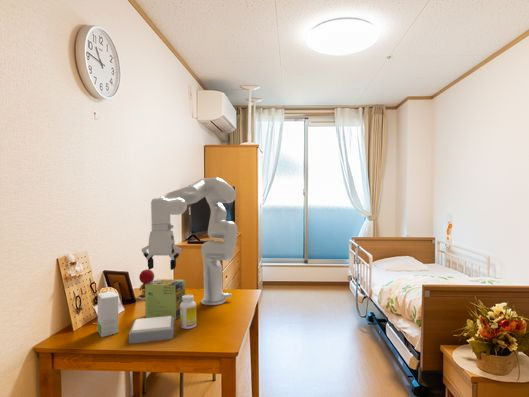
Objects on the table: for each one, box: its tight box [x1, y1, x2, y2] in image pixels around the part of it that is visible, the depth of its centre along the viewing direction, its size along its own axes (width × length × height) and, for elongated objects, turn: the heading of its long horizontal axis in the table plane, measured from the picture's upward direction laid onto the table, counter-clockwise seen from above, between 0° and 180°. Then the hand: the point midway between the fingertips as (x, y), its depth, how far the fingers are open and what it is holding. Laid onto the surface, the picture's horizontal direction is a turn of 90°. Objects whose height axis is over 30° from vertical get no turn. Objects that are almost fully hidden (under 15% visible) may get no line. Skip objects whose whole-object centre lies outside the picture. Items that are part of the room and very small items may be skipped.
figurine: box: [136, 269, 155, 301], centre depth 183 cm, size 9×10×15 cm
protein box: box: [144, 278, 186, 321], centre depth 155 cm, size 10×15×16 cm
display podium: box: [128, 316, 175, 345], centre depth 133 cm, size 16×14×4 cm
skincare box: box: [97, 290, 119, 338], centre depth 136 cm, size 8×7×16 cm
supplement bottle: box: [179, 294, 198, 330], centre depth 140 cm, size 7×7×13 cm
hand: (161, 268), depth 138 cm, fingers open, 9 cm apart
